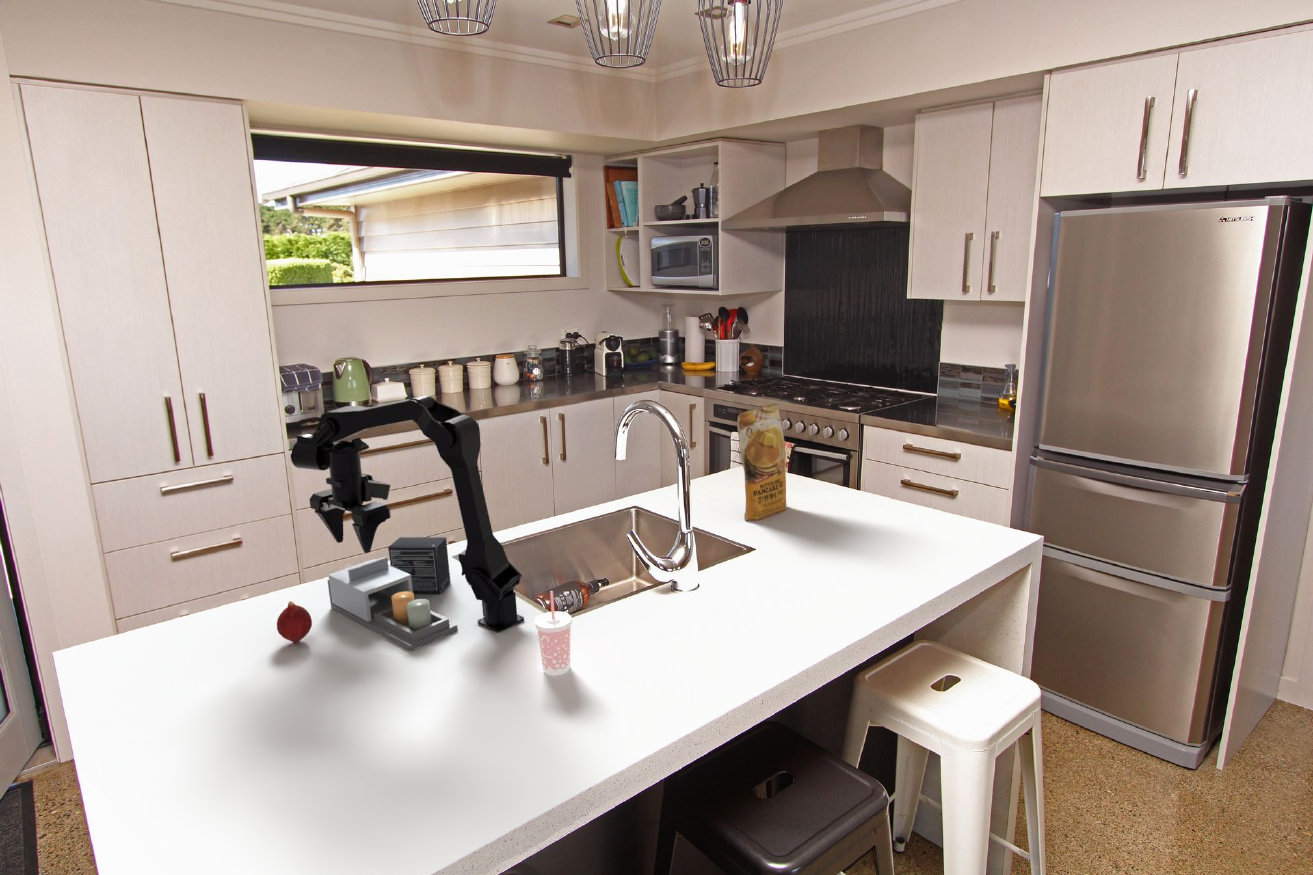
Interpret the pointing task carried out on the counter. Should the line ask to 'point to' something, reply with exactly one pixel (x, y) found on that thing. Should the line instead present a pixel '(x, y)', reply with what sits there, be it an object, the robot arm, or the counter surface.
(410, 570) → the small box
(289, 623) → the onion
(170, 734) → the counter surface
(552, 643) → the beverage cup
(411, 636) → the housing
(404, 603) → the orange rounded tapered piece
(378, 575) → the lid
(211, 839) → the counter surface
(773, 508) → the pancake mix bag
